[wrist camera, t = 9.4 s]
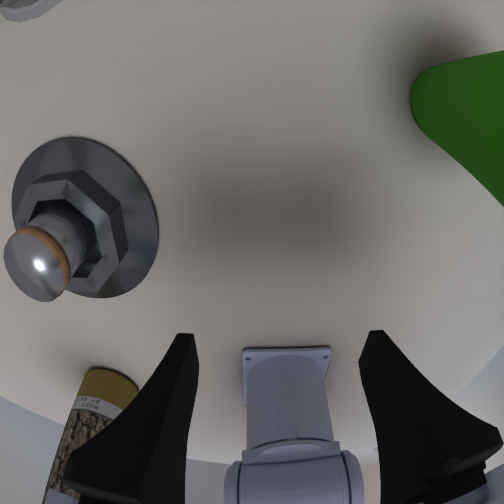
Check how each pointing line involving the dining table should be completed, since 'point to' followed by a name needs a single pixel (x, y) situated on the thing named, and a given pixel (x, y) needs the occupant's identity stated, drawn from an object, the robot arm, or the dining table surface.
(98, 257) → the flange ring
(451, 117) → the cup
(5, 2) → the french press
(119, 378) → the paper tube
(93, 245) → the silver metal canister
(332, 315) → the dining table surface
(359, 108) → the dining table surface
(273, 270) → the dining table surface
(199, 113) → the dining table surface
